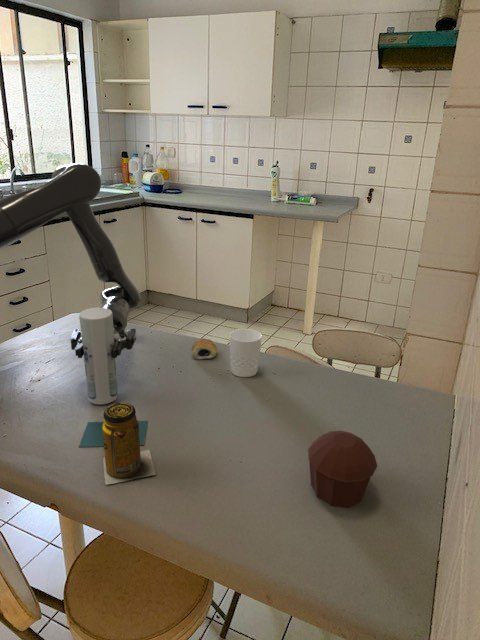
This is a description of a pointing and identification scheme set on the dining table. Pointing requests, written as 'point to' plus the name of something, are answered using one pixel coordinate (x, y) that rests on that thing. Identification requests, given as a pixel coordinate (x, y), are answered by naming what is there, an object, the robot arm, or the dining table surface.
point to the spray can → (99, 354)
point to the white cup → (245, 352)
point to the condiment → (123, 446)
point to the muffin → (340, 468)
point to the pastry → (204, 349)
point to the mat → (95, 434)
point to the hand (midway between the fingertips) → (97, 354)
